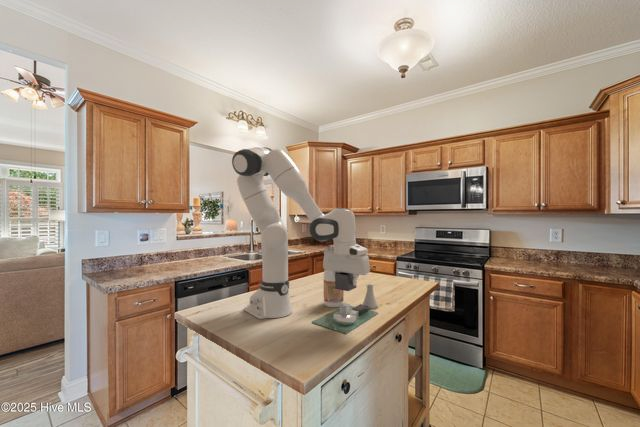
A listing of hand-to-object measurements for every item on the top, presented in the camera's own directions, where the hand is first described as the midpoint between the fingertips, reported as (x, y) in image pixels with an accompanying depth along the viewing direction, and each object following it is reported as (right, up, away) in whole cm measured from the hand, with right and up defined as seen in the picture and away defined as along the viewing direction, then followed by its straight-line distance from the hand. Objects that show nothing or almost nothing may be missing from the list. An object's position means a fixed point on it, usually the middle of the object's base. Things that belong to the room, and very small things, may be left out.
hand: (345, 283), depth 108 cm
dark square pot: (0, -2, 0) cm, 2 cm away
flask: (+13, -16, +18) cm, 27 cm away
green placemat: (+1, -15, +4) cm, 16 cm away
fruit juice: (-4, -16, +21) cm, 27 cm away
